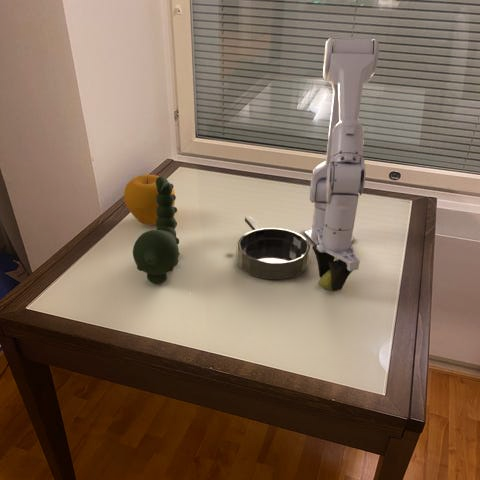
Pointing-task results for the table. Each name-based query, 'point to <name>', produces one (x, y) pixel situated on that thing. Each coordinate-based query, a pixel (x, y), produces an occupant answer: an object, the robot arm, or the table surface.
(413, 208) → the table surface
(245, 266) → the skillet
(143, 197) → the apple
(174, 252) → the toy figurine
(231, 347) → the table surface
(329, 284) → the lime
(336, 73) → the robot arm
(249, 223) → the skillet handle
